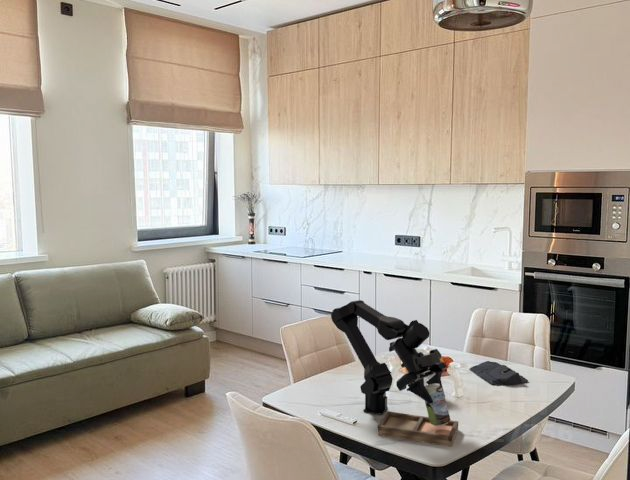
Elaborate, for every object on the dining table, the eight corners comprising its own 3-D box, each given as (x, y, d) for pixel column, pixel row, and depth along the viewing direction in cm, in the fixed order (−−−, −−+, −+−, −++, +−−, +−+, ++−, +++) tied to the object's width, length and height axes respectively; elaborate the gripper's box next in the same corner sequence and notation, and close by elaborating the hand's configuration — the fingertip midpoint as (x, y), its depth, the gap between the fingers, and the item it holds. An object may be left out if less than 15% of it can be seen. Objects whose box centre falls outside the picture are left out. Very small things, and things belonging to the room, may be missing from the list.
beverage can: (445, 430, 168) (440, 390, 167) (422, 426, 173) (418, 387, 172) (454, 421, 173) (449, 382, 172) (432, 417, 178) (427, 380, 177)
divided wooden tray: (377, 434, 174) (377, 425, 173) (388, 419, 185) (388, 411, 184) (451, 446, 165) (451, 437, 165) (458, 430, 176) (458, 421, 176)
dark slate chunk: (500, 367, 238) (500, 355, 237) (531, 385, 216) (531, 372, 216) (466, 370, 234) (466, 358, 234) (494, 388, 213) (494, 376, 213)
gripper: (404, 347, 167) (435, 395, 160) (442, 335, 180) (472, 379, 173) (383, 367, 174) (412, 413, 167) (421, 354, 186) (449, 397, 180)
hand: (437, 400), depth 171 cm, fingers closed on beverage can, 6 cm apart
